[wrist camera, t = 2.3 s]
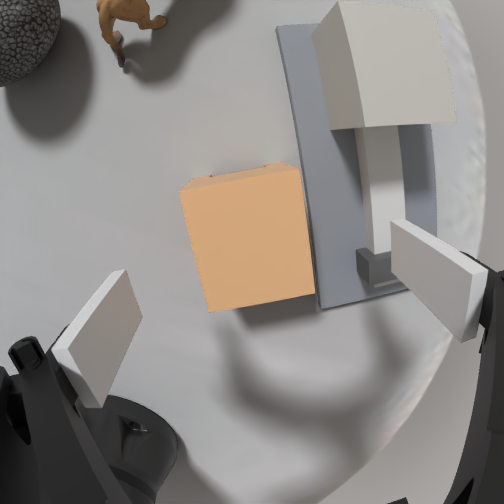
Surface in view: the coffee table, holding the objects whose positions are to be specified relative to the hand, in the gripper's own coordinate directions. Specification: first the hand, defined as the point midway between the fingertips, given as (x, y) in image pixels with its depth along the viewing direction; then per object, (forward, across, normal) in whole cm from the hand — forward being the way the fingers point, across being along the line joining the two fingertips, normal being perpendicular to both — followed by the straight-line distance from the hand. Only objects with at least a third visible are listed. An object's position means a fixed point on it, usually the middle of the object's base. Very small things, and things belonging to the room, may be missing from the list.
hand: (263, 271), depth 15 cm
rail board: (+12, +10, +3) cm, 16 cm away
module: (+12, 0, 0) cm, 12 cm away
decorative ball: (+12, -16, +21) cm, 29 cm away
